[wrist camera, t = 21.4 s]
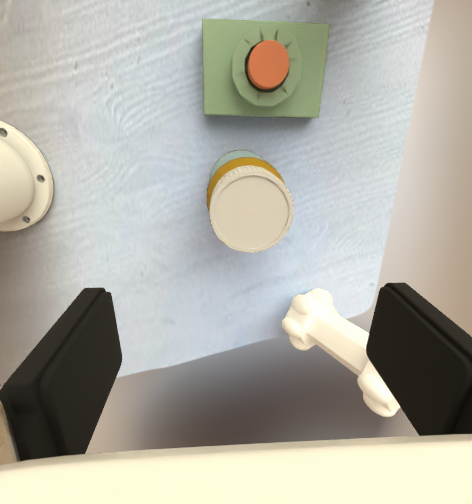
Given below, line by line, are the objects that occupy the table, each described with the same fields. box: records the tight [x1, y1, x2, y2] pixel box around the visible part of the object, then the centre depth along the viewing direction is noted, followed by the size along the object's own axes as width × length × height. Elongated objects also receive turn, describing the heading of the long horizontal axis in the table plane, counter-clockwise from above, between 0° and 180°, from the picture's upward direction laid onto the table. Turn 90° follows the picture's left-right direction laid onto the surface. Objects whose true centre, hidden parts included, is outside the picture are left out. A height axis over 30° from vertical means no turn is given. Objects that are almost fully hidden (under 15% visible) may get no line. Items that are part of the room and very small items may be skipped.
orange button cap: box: [247, 40, 289, 90], centre depth 26 cm, size 4×4×2 cm
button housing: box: [202, 18, 330, 118], centre depth 29 cm, size 12×8×4 cm, turn 89°
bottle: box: [207, 150, 294, 252], centre depth 28 cm, size 7×7×15 cm
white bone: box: [282, 289, 400, 417], centre depth 35 cm, size 15×9×8 cm
